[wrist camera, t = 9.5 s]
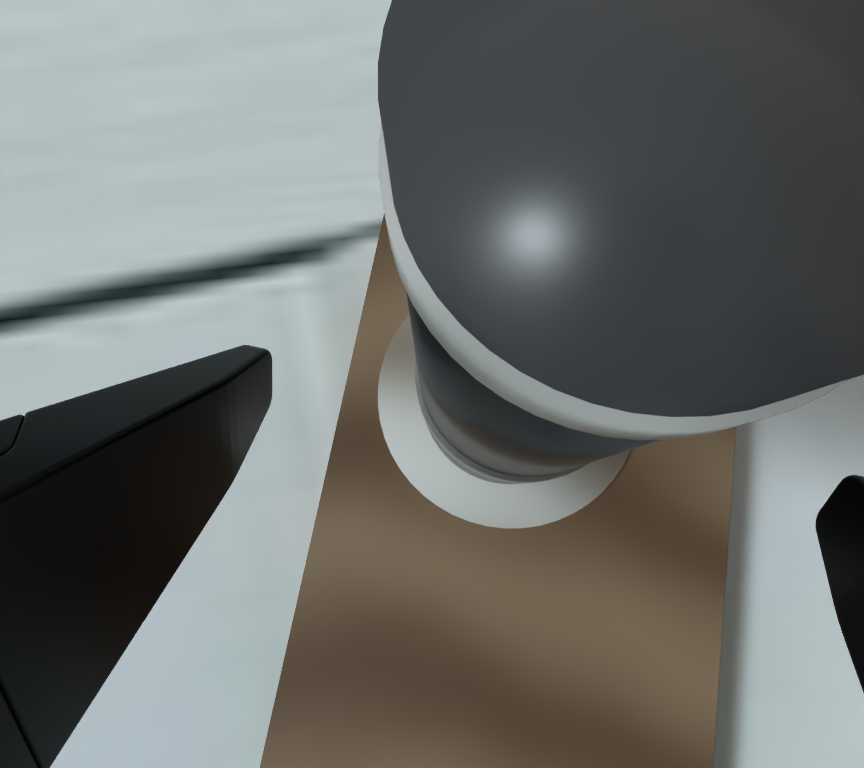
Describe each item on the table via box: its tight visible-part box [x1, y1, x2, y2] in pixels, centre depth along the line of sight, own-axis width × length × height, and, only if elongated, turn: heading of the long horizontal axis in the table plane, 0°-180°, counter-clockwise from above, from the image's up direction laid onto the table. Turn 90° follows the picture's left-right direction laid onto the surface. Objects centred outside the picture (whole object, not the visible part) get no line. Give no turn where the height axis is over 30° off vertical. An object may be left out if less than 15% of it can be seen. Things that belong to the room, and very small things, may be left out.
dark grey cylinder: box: [378, 0, 864, 484], centre depth 11 cm, size 5×5×13 cm
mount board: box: [260, 213, 736, 768], centre depth 17 cm, size 18×12×2 cm, turn 169°
